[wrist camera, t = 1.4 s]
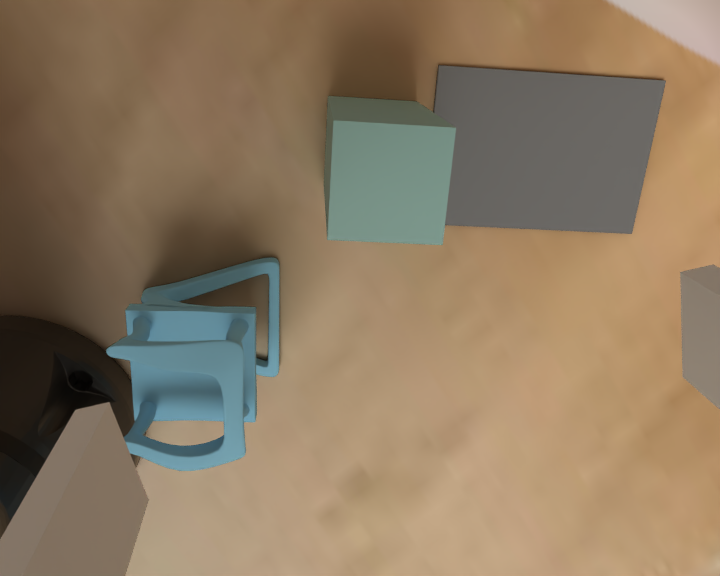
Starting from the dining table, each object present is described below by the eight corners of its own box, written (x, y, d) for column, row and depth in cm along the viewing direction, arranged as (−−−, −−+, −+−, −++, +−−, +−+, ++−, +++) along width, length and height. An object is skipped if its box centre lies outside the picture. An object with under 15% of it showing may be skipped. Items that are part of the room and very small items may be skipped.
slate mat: (422, 222, 40) (422, 224, 39) (438, 65, 36) (439, 65, 36) (629, 232, 41) (631, 233, 40) (663, 80, 37) (665, 80, 37)
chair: (140, 252, 39) (68, 340, 28) (280, 257, 40) (264, 344, 29) (148, 367, 42) (86, 489, 31) (279, 370, 43) (264, 490, 31)
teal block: (323, 184, 38) (327, 239, 28) (327, 95, 37) (333, 120, 26) (408, 188, 39) (442, 244, 29) (416, 101, 37) (456, 127, 27)
